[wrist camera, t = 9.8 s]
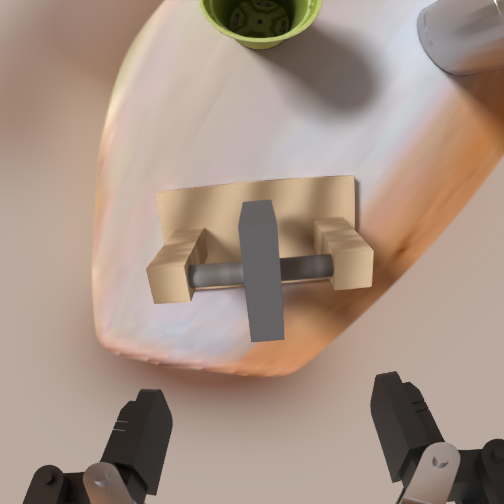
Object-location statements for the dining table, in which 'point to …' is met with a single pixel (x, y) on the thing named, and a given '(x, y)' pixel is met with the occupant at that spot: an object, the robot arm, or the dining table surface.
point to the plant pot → (268, 32)
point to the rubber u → (261, 270)
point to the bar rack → (289, 236)
